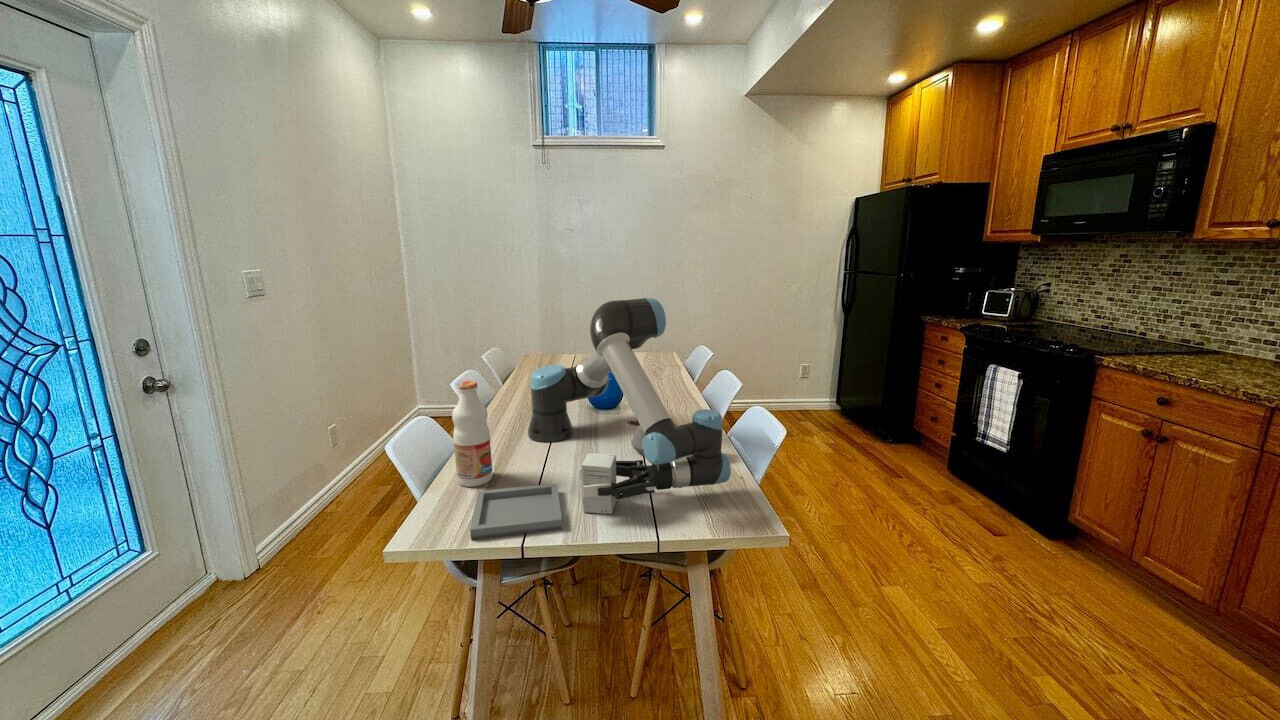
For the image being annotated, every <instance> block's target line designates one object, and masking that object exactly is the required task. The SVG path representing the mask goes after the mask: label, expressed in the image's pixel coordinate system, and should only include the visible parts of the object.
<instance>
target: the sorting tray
mask: <svg viewBox="0 0 1280 720" xmlns="http://www.w3.org/2000/svg"><path fill="white" fill-rule="evenodd" d="M561 512H562V511H561V503H560V495H559V487H558V483H548V484H538V485H528V486H527V485H526V486H517V487H508V488H507V487H506V488H505V487H504V488H497V489H486V490H478V491H477V494H476V499H475V504H474V509H473V515H472V519H471V524H470V525H471V526H470V529H469V531H470V540H471V539H472V541H473V539H474V540H480V539H481V540H482V539H491V538H498V537H507V536H516V535H525V534H531V533H533V534H534V533H540V532H541V533H542V532H549V531H557V530H562V529H563V525H562V524H563V522H562V521H563V519H562V513H561Z"/></svg>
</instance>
